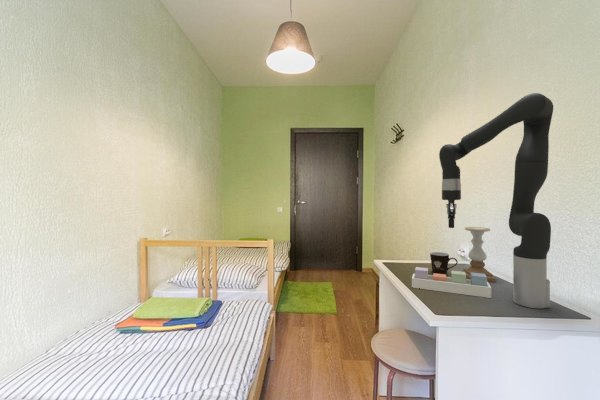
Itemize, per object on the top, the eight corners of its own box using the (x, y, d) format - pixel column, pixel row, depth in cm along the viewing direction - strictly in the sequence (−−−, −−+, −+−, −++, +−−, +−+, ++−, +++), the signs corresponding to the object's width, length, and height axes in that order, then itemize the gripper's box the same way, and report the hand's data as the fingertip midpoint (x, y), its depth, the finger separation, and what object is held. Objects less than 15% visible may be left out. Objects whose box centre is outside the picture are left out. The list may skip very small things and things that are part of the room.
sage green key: (465, 282, 114) (464, 271, 114) (466, 286, 110) (466, 275, 110) (451, 280, 116) (451, 270, 116) (451, 284, 112) (451, 273, 112)
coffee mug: (426, 272, 140) (426, 253, 140) (437, 270, 144) (437, 251, 144) (446, 278, 130) (446, 257, 130) (458, 276, 133) (458, 255, 133)
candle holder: (496, 282, 123) (496, 229, 123) (469, 281, 126) (469, 229, 125) (484, 275, 134) (484, 226, 134) (460, 274, 136) (460, 226, 136)
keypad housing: (487, 291, 112) (487, 281, 112) (491, 298, 105) (491, 287, 105) (413, 282, 125) (413, 273, 125) (411, 287, 118) (411, 278, 118)
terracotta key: (446, 284, 117) (446, 274, 117) (446, 288, 113) (446, 277, 113) (433, 283, 120) (433, 273, 120) (432, 286, 115) (432, 276, 115)
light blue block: (485, 284, 111) (485, 273, 111) (486, 288, 107) (486, 277, 106) (470, 283, 113) (470, 272, 113) (471, 286, 109) (471, 275, 109)
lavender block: (428, 278, 121) (428, 268, 120) (427, 281, 116) (427, 271, 116) (415, 276, 123) (415, 266, 123) (415, 280, 118) (414, 269, 118)
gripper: (441, 189, 130) (441, 226, 130) (441, 189, 118) (442, 229, 118) (459, 189, 127) (459, 226, 127) (462, 188, 115) (462, 229, 115)
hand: (451, 227), depth 123 cm, fingers closed
